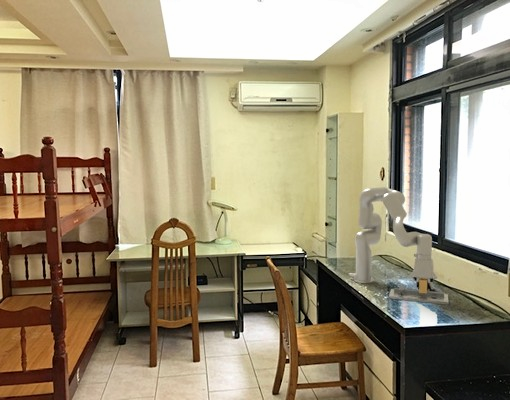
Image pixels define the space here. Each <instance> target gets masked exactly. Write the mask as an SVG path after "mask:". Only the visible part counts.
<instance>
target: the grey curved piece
mask: <svg viewBox="0 0 510 400" xmlns="http://www.w3.org/2000/svg"><path fill="white" fill-rule="evenodd" d="M416 278H417V277H416ZM415 282H416V281H415ZM427 282H428V279H427ZM416 284H417V282H416ZM430 290H432V291H433V290H434V292H437V291H436V287H435V286H433V284H432V282H431V283H430V289H428V290H427V291H430Z"/></svg>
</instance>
